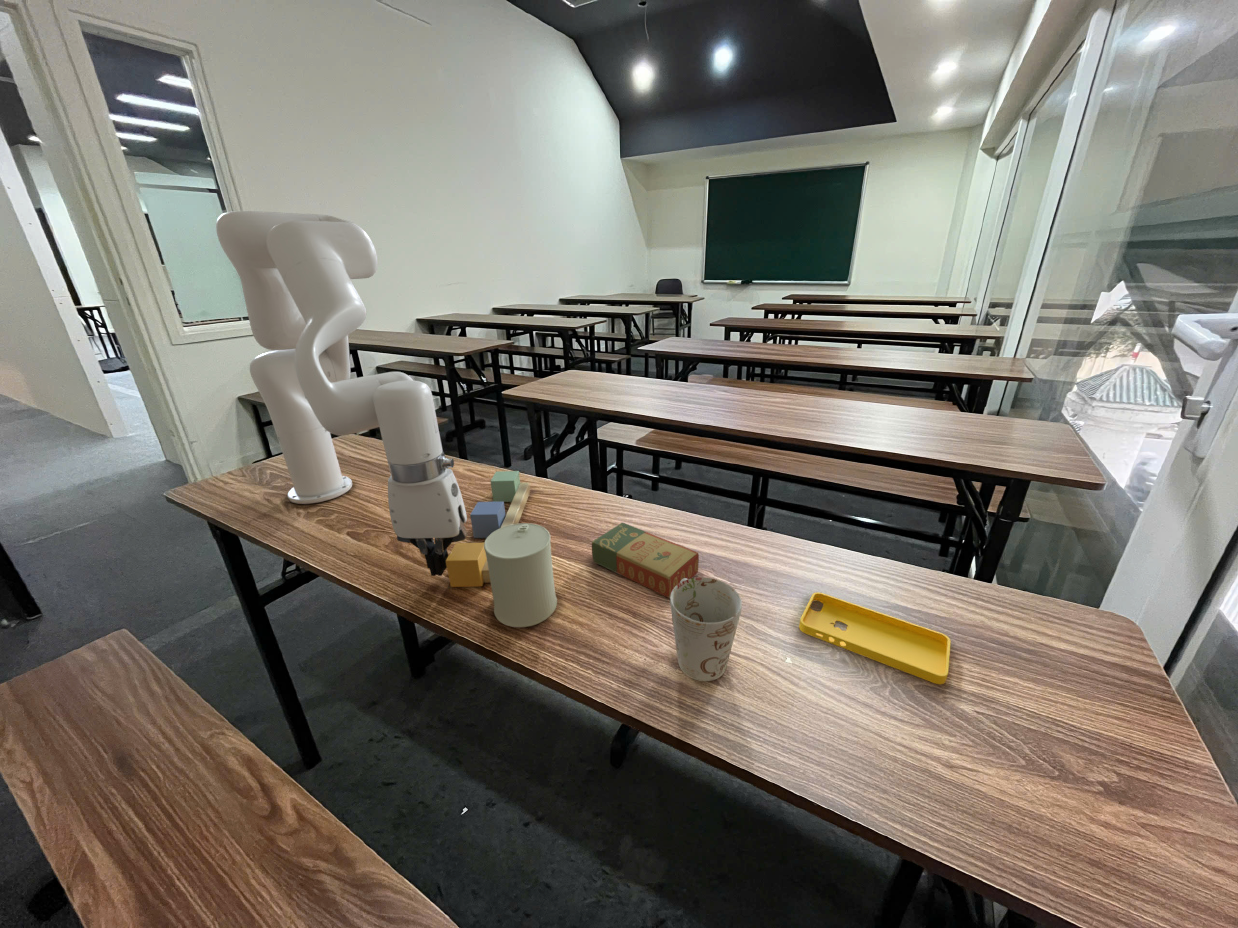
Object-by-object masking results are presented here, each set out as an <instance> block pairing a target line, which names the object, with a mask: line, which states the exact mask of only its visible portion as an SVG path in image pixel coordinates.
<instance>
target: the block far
mask: <svg viewBox="0 0 1238 928" xmlns="http://www.w3.org/2000/svg"><path fill="white" fill-rule="evenodd" d="M520 483H521V478H520V471H519V470H506V471H505V470H501V471H500V470H499V471H495V473H494V474H493V475H492V478H491V479H490V489H491V494H492V495H491V496H492V502H504V503H512V500H513V498H514V496H515V494H516V491H517V489H518V487H519V484H520Z"/></svg>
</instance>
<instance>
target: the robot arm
mask: <svg viewBox="0 0 1238 928" xmlns="http://www.w3.org/2000/svg"><path fill="white" fill-rule="evenodd" d="M215 229H216V230H215V231H216V235H217V238H218V241H219V244H220V247H221V248H222V250H223V252H224V254H225V255H226V257H227V258H228V260H229V261H230V263H231V264H232V266H233V267H234V269H235V271H236V272H237V275H238V277H239V279H240V283H241V287H242V293H243V297H244V302H245V306H246V312H247V316H248V321H249V325H250V329H251V333H252V335H253V338H254V340H255V341H256V342H257V344H258V345H259V346H261V347H262V348H264V349H266V350H270V351H267V352H264V353H261V354H259V355H257V356H255V357H254V358H253V359H251V361H250V363H249V373H250V377H251V380H252V381H253V383H254V385H255V387H256V389H257V391H258V392H259V395H260V397H261V398H262V400H263V402H264V405H265V407H266V409H267V411H268V414H269V417H270V420H271V423H272V426H273V428H274V431H275V434H276V439H277V440H278V443H279V446H280V450H281V453H282V456H283V459H284V462H285V464H286V468H287V470H288V475H289V477H290V480H291V483H292V486H293V487H292V488H291V489H290V490H289V491H288V493H287V498H288V500H289V501H290V502H291V503H293V504H297V505H298V504H299V505H310V504H317V503H323V502H326V501H329V500H332V499H336V498H339V497H341V496H342V495H344V494H346V493H347V492H349V491H350V490H351V489H352V487H353V481H352V479H351V478H350V477H349V476H347V475H343V474H342V471H341V468H340V464H339V460H338V456H337V453H336V449H335V446H334V442H333V439H332V435H334V436H339V437H340V436H341V437H342V436H350V435H354V434H358V433H362V432H366V431H369V430H373V429H377V428H379V431H380V435H381V440H382V444H383V448H384V452H385V456H386V461H387V464H388V469H389V473H390V476H389V477H388V479H387V480H388V481H387V500H388V501H387V502H388V510H389V511H388V512H389V516H390V521H391V525H392V530H393V532H394V534H395V535H396V539H397V541H398V542H402V543H407V544H411V545H413V546H414V547H415V548H417V549H418V550H419V552H420V554H421V555H424V558H425V562H426V566H427V567H426V568H427V569H429V572H430V576H431V577H436V576H438V577H441V576H443V575H444V573H445V571H446V570H447V565H446V559H447V557H448V556H449V553H448V548H449V546H451V545H452V543H460V542H462V541H465V540H466V539H467V536H468V531H467V529H466V527H465V524H466V522H467V520H468V517H467V511H466V506H465V501H464V499H463V496H462V492H461V489H460V487H459V483H458V480H457V478H456V476H455V474H454V471H453V470H452V469H451V468H454V466H455V460H454V458H449V457H446V455H445V451H443V445H442V439H441V435H440V434H441V433H440V431H439V423H438V418H437V413H436V408H435V403H434V398H433V393H432V389H431V388H430V386H429V385H428V384H426V383H425V382H423V381H420V380H414V379H413V378H412V377H411V376H410V375H408V374H406V373H404V372H401V371H388V372H383V373H377V374H371V375H365V376H359V377H354V378H351V358H350V346H349V345H350V344H349V335H350V334H352V333H353V332H355V331H356V330H358V329H359V327H361V326H362V325H363V323H364V322H365V320H366V317H367V309H366V305H365V304H364V302H363V300H362V298H361V296H360V294H359V292H358V290H357V289H356V287H355V286H354V283H353V281H352V280H361V279H362V280H363V279H369V278H372V277H373V276H374V275H375V274H376V272H377V270H378V264H379V263H378V261H379V260H378V254H377V250H376V247H375V245H374V243H373V241H372V239H371V238H370V236H369V235H368V233H367V232H366V231H365V230H364V229H363V228H362V227H361V226H360V225H358V224H357V223H354V222H352V221H350V220H345V219H342V218H339V217H336V216H332V215H328V214H317V213H298V212H296V213H295V212H280V211H261V210H259V211H257V210H236V211H233V210H232V211H227V212H223V213H222V214H220V215H219V216H218V218H217V219H216V223H215Z"/></svg>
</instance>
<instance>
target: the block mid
mask: <svg viewBox="0 0 1238 928" xmlns="http://www.w3.org/2000/svg"><path fill="white" fill-rule="evenodd" d="M505 516H506V508H505V502H493V501H477V503H476V504H475V506H474V507H473V509H472V511H471V513H470V514H469V517H470V523H471V528H472V535H473V539H486V538H487V537H488V536H489V535H490V534H491V533H493V532H494V531H496V530H498V529H500V528H501V526H502V523H503V521H504V519H505Z"/></svg>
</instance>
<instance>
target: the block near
mask: <svg viewBox="0 0 1238 928" xmlns="http://www.w3.org/2000/svg"><path fill="white" fill-rule="evenodd" d="M486 560H487V558H486V553H485V549H484V542H454V546H453V547H452V548H451V551H450V552H449V553H448V557H447V559H446V565H447V568H446V570H447V574H448V579H449V585H450V588H465V587H466V588H469V587H470V588H471V587H472V588H474V587H475V588H476V587H483V585H484V584H485V583H484V581H483V575H482V569H483V567H484V564H485V562H486Z"/></svg>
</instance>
